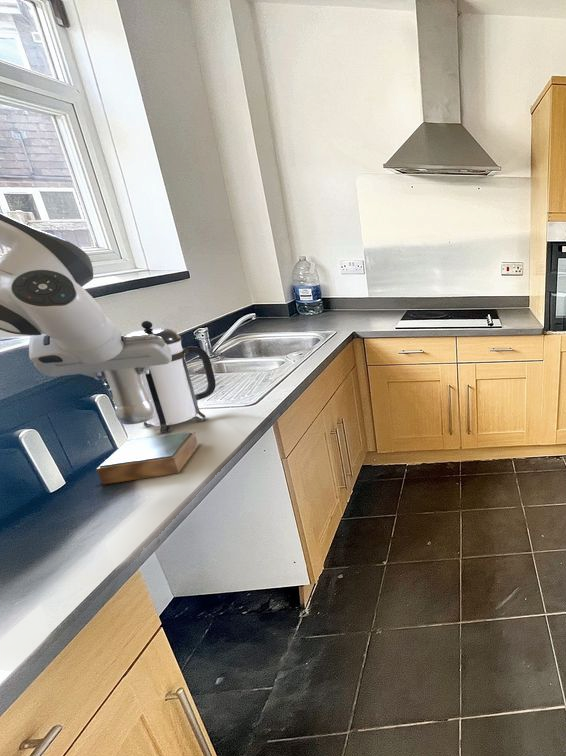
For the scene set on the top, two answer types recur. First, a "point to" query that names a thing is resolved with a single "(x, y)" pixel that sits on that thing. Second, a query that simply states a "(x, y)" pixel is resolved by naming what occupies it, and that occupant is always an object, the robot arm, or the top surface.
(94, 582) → the top surface
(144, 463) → the riser
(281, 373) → the top surface
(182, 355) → the coffee press
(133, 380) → the plastic bottle
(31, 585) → the top surface
